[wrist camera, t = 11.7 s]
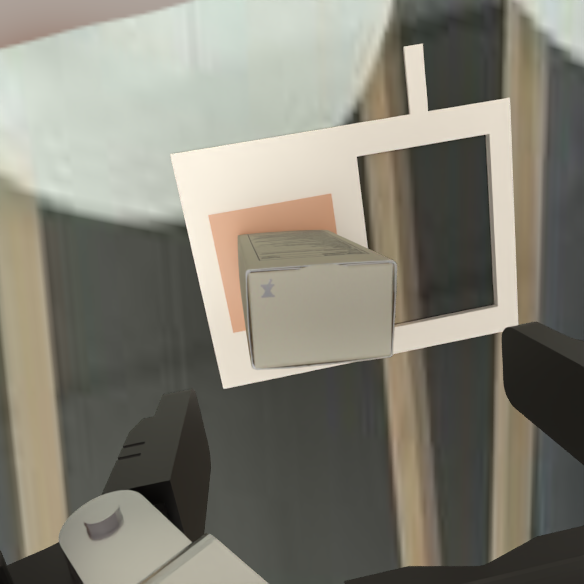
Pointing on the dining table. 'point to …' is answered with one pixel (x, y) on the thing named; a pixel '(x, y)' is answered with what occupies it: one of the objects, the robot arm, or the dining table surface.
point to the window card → (335, 211)
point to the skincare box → (315, 299)
